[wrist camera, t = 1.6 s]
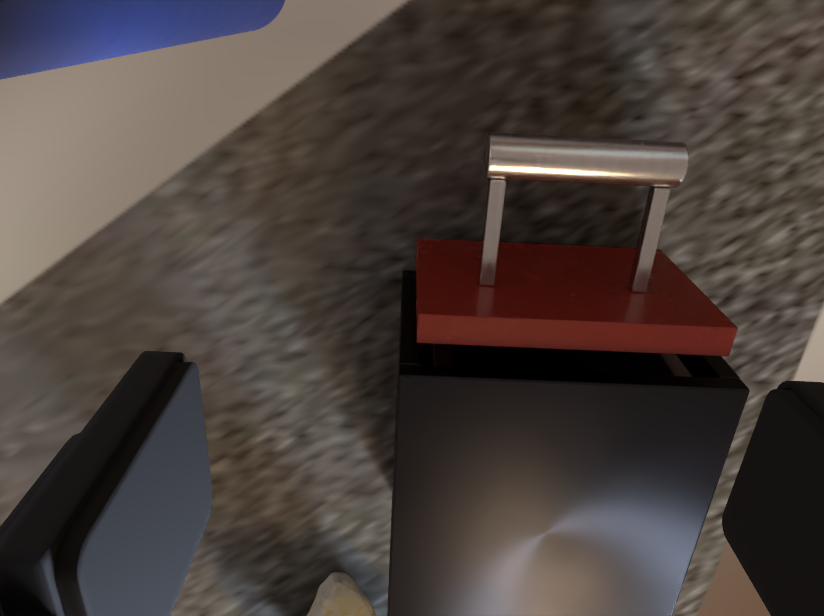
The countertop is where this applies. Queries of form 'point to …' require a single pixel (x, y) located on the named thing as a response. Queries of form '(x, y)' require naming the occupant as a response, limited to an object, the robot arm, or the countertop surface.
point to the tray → (567, 275)
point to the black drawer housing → (550, 484)
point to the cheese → (340, 598)
